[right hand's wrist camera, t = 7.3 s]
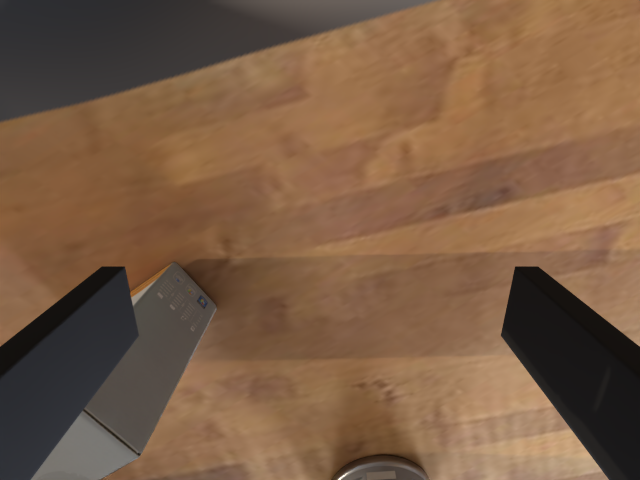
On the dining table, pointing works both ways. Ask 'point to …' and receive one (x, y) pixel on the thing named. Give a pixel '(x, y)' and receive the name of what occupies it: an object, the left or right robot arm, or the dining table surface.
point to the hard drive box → (136, 381)
